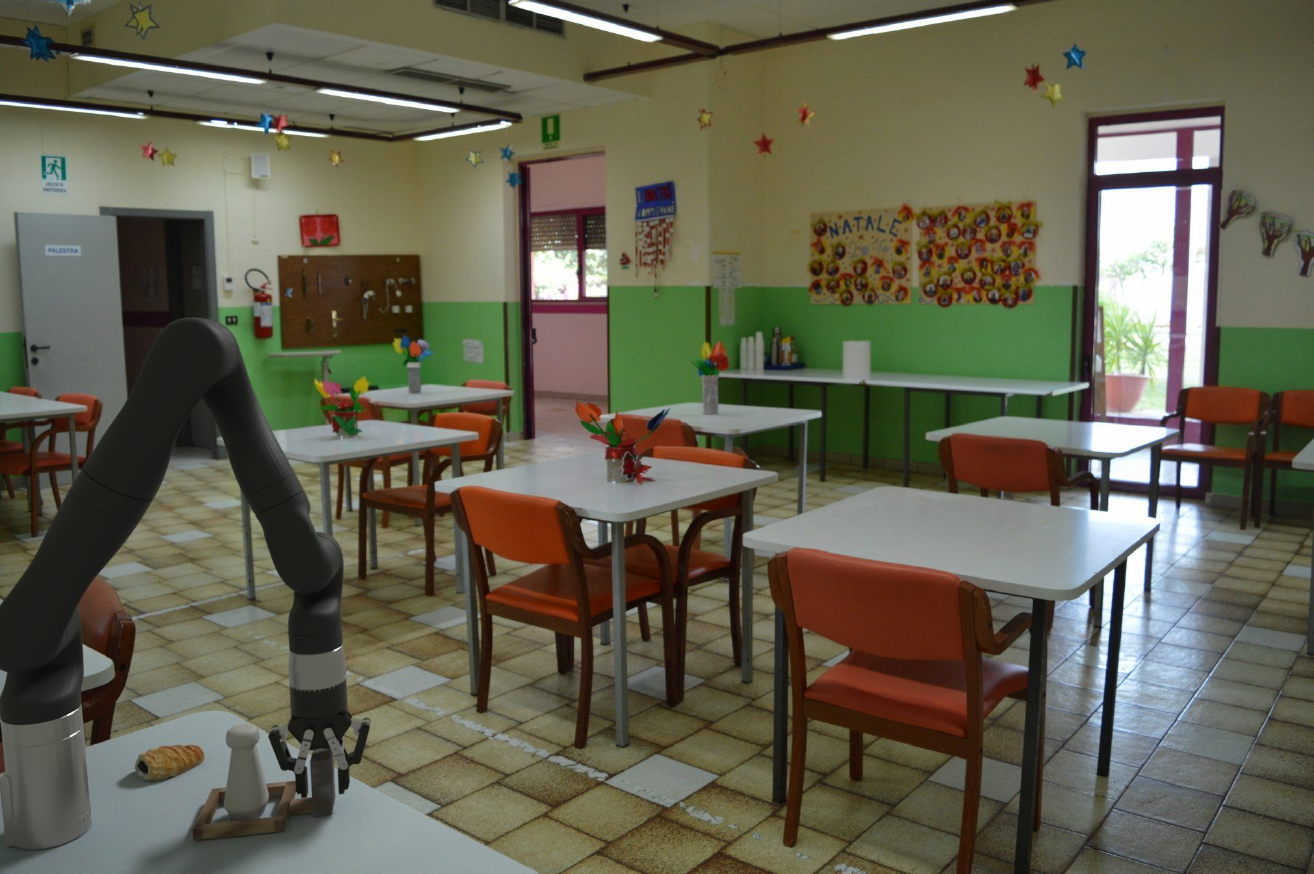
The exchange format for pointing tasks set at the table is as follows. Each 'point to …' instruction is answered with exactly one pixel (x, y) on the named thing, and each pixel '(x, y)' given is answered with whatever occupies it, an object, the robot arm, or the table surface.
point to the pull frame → (288, 806)
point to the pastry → (168, 761)
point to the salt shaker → (245, 775)
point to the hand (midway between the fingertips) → (323, 792)
